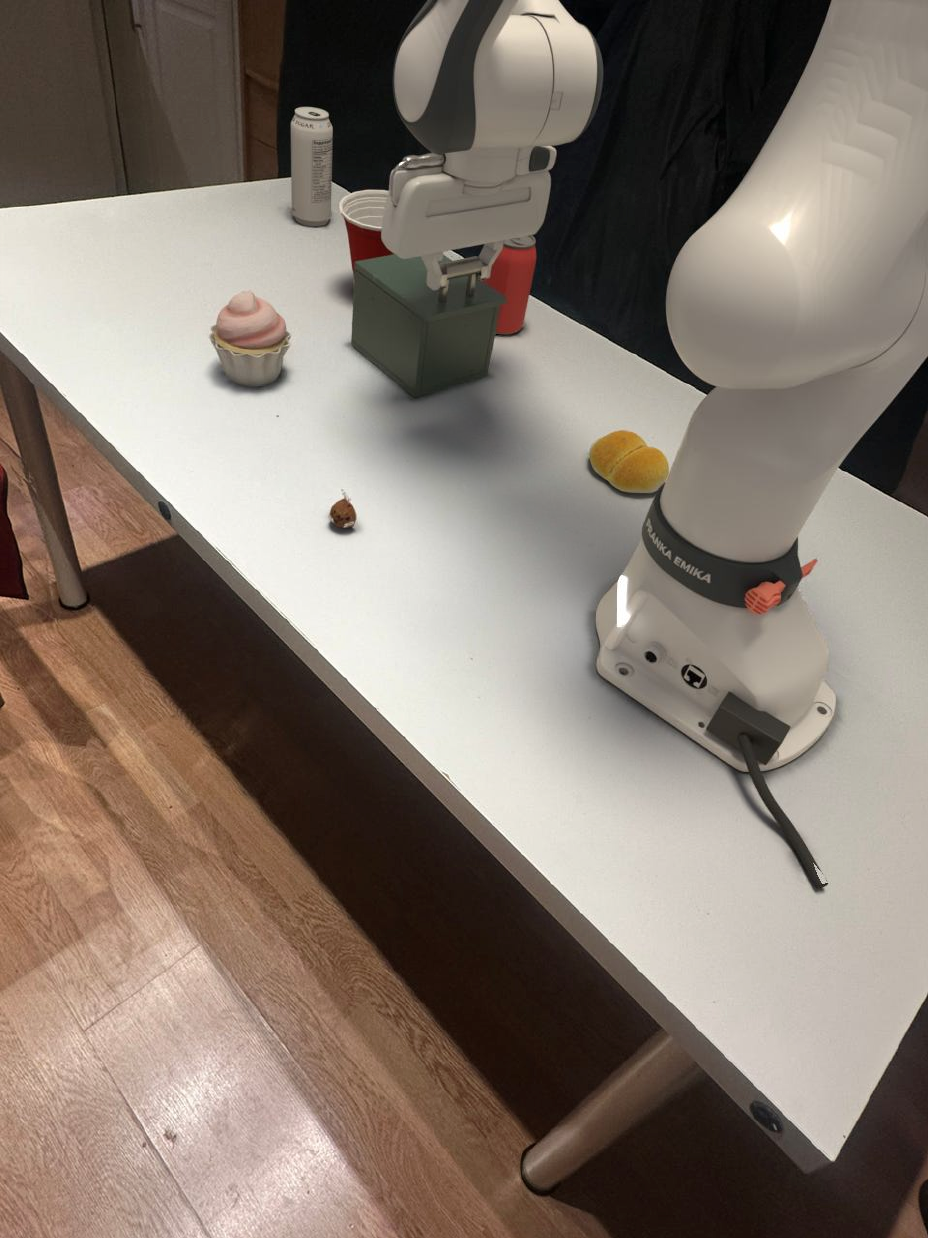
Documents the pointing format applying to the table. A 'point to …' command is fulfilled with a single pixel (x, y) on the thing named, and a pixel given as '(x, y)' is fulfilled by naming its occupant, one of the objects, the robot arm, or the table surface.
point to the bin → (420, 341)
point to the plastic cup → (365, 224)
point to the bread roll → (629, 462)
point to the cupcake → (250, 340)
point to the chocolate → (343, 513)
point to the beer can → (513, 281)
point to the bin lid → (412, 290)
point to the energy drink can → (311, 166)
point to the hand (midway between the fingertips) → (458, 282)
